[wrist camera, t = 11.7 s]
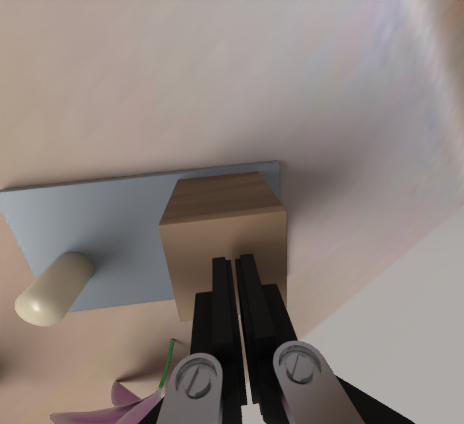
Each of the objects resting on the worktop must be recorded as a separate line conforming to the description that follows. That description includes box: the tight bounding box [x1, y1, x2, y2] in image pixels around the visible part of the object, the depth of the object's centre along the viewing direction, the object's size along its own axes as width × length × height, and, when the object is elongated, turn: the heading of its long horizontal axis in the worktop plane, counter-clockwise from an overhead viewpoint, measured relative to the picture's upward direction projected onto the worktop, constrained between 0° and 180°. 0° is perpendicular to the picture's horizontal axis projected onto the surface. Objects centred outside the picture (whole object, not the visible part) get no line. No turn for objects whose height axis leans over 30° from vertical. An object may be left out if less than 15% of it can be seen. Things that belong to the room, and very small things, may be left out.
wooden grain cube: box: [158, 171, 287, 322], centre depth 14 cm, size 5×5×7 cm
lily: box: [49, 339, 175, 424], centre depth 20 cm, size 12×12×10 cm
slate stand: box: [0, 161, 280, 326], centre depth 16 cm, size 10×18×5 cm, turn 95°
